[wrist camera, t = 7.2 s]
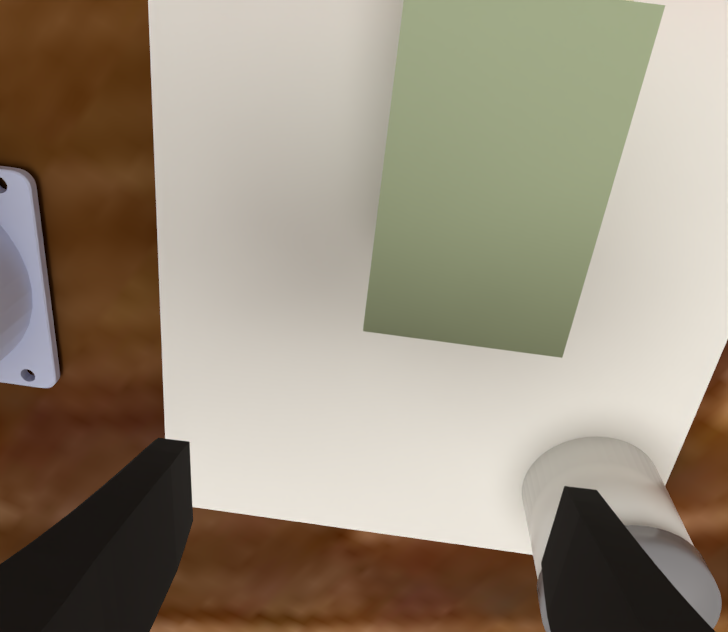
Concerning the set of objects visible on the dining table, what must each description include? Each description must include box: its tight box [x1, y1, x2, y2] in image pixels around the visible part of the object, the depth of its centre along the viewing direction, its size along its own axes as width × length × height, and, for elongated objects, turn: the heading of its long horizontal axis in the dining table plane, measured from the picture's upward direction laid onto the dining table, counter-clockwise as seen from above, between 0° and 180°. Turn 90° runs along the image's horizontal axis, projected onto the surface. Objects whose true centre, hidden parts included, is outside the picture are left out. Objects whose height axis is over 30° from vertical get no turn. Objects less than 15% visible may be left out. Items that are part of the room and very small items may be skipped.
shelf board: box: [148, 0, 728, 555], centre depth 20 cm, size 18×22×3 cm
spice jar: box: [522, 437, 721, 632], centre depth 21 cm, size 5×5×5 cm
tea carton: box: [363, 0, 665, 358], centre depth 15 cm, size 7×4×6 cm, turn 174°
